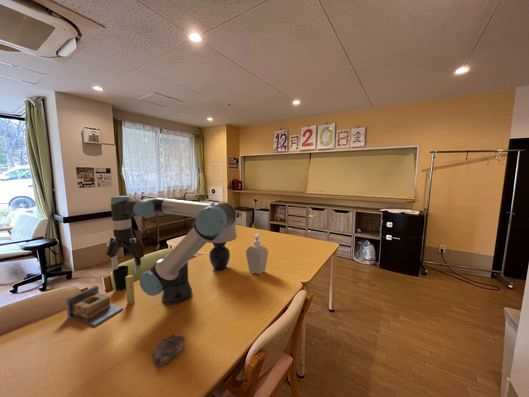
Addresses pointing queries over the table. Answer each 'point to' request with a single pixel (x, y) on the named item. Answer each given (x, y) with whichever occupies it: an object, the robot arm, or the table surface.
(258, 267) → the soap bottle
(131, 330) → the table surface
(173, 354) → the rock
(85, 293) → the dark grey angled piece
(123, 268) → the cup
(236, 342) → the table surface
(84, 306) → the block
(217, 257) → the lamp
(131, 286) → the dowel
